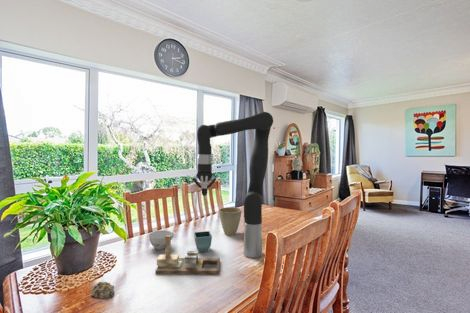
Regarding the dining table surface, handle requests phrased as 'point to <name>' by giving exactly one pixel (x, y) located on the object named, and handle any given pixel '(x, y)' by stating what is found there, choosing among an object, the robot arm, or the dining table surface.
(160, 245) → the grey stone bowl
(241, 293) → the dining table surface
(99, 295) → the mineral rock
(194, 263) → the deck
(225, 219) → the plant pot
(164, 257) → the beige post stand
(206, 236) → the flower pot
